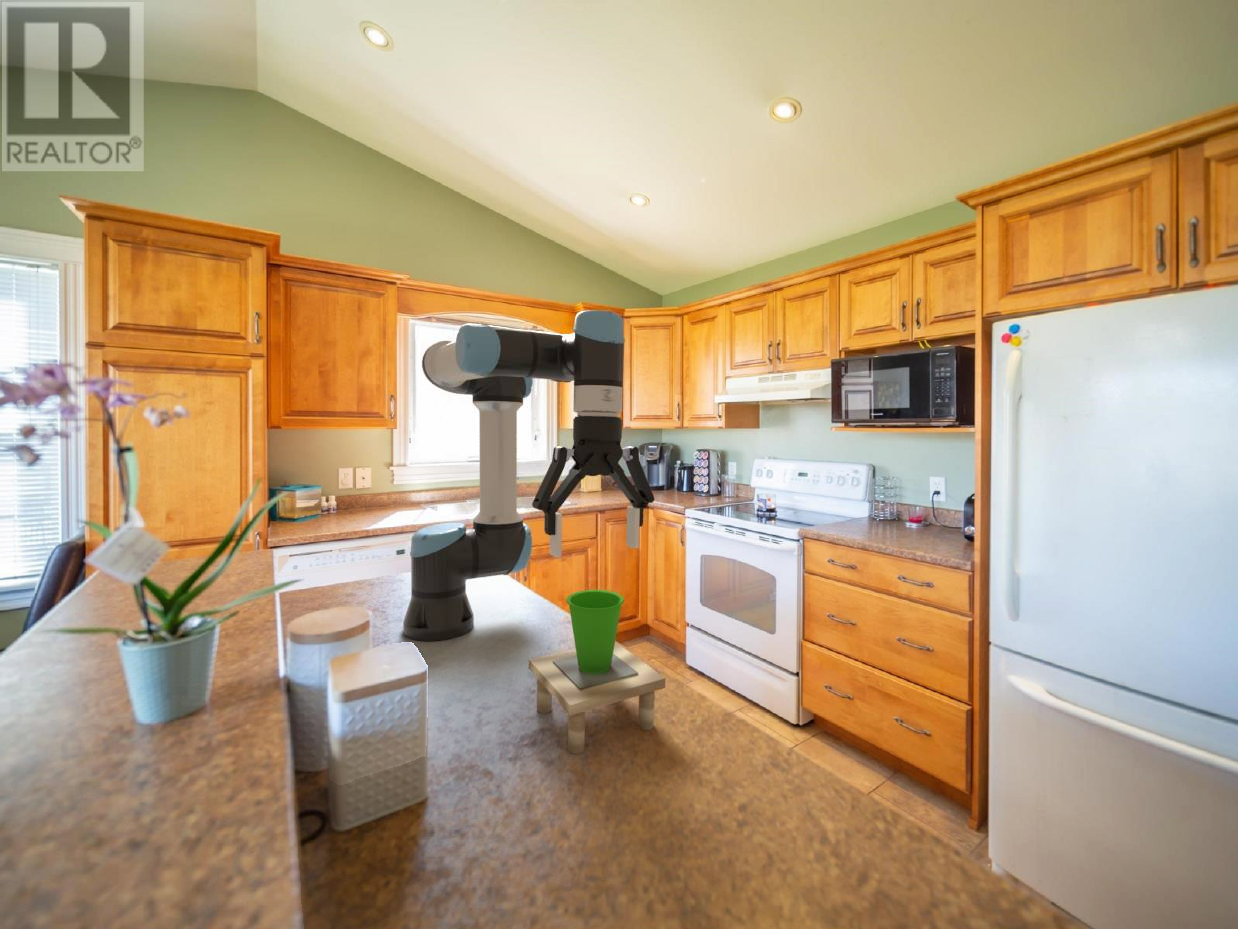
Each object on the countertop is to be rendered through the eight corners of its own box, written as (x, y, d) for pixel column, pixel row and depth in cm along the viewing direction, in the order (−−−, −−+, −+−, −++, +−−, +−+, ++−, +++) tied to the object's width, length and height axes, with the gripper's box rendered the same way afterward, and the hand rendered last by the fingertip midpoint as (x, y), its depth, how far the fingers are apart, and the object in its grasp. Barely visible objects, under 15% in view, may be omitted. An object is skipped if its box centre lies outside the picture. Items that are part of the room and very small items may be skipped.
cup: (616, 683, 76) (617, 610, 75) (558, 676, 78) (558, 605, 77) (628, 657, 85) (629, 591, 84) (575, 651, 87) (575, 587, 86)
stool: (528, 706, 85) (528, 657, 84) (612, 683, 93) (613, 638, 92) (569, 761, 71) (570, 703, 70) (664, 728, 79) (665, 676, 79)
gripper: (529, 412, 70) (528, 566, 71) (677, 417, 82) (674, 548, 84) (511, 413, 76) (510, 554, 78) (651, 417, 89) (648, 539, 90)
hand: (595, 551), depth 81 cm, fingers open, 13 cm apart
